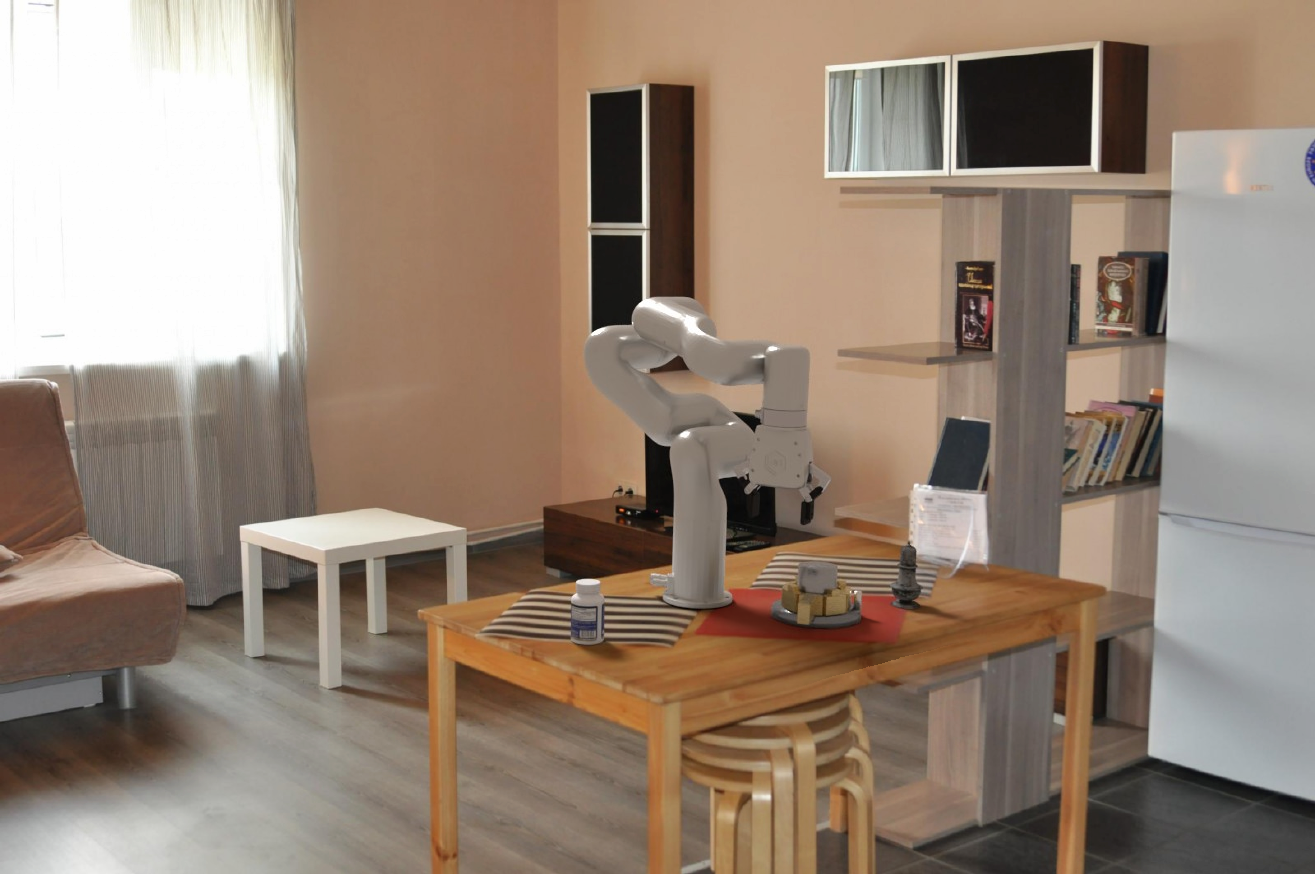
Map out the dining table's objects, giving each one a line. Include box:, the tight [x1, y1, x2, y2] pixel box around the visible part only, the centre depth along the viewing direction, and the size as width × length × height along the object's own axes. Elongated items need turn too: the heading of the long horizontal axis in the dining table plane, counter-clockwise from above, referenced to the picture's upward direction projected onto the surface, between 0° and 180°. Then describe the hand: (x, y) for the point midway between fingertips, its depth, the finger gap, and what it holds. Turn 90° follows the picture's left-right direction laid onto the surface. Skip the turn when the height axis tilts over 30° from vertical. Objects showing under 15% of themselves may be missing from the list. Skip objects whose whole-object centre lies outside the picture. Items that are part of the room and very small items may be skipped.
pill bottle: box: [570, 578, 606, 646], centre depth 213 cm, size 5×5×10 cm
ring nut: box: [780, 575, 853, 625], centre depth 229 cm, size 18×12×4 cm, turn 163°
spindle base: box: [770, 560, 863, 630], centre depth 232 cm, size 16×16×9 cm
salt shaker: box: [889, 540, 924, 610], centre depth 241 cm, size 6×6×12 cm
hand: (779, 520), depth 224 cm, fingers open, 9 cm apart
